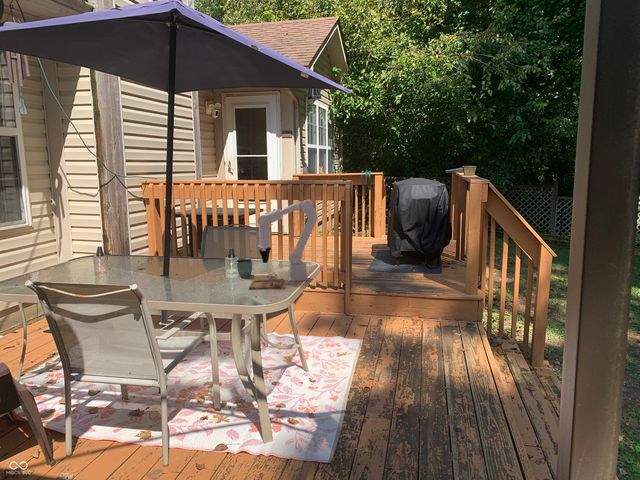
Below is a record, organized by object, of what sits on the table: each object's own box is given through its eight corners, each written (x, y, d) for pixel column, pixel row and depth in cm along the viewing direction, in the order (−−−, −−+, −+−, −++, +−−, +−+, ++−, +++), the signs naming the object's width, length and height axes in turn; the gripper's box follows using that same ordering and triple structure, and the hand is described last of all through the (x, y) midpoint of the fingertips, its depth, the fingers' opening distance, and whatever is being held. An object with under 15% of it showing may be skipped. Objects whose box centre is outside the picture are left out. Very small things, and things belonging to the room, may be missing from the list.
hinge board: (283, 280, 269) (282, 269, 268) (280, 288, 251) (280, 276, 250) (253, 281, 269) (253, 270, 268) (249, 289, 251) (248, 277, 250)
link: (277, 278, 268) (277, 271, 267) (276, 280, 264) (276, 273, 263) (255, 279, 268) (255, 272, 267) (254, 281, 264) (254, 274, 263)
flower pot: (237, 278, 278) (236, 262, 277) (236, 275, 286) (236, 259, 285) (253, 277, 280) (252, 261, 278) (252, 274, 288) (251, 258, 287)
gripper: (258, 235, 276) (260, 259, 278) (255, 239, 262) (256, 264, 264) (271, 235, 276) (272, 259, 278) (268, 238, 262) (270, 264, 264)
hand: (265, 261), depth 271 cm, fingers open, 5 cm apart
